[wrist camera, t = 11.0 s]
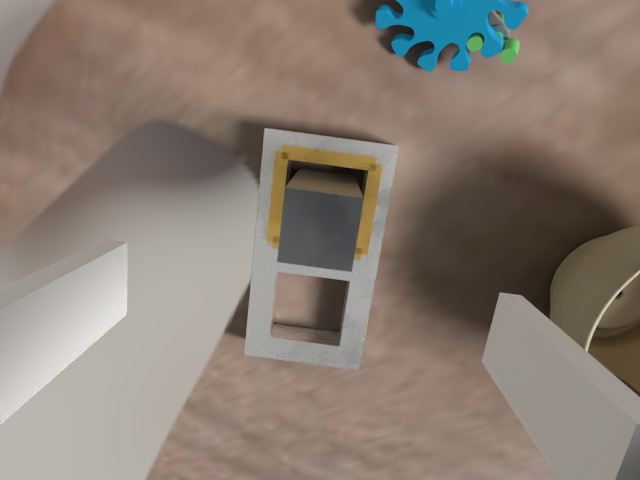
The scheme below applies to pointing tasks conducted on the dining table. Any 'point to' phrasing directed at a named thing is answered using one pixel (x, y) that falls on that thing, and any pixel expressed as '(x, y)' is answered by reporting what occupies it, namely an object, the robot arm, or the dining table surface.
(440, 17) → the gear
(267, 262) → the grey slotted holder
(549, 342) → the robot arm
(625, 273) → the planter bowl
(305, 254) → the peg
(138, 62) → the dining table surface
